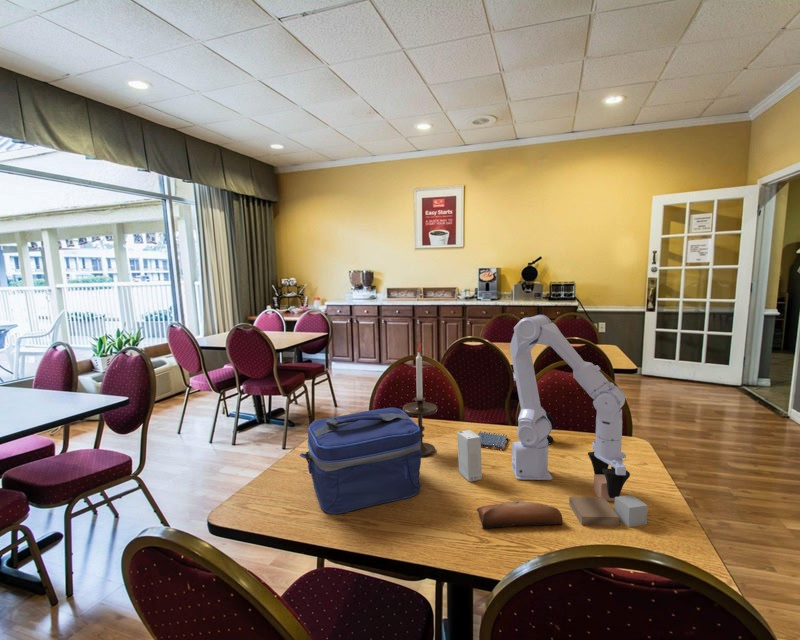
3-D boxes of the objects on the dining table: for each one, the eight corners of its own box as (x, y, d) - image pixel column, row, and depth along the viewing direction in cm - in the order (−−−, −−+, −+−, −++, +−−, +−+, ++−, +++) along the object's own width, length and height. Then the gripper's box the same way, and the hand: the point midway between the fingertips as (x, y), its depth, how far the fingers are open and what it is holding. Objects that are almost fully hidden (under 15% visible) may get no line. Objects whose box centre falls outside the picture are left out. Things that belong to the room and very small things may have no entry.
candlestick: (442, 447, 132) (441, 340, 128) (429, 461, 123) (427, 346, 119) (412, 441, 137) (410, 339, 133) (397, 454, 128) (395, 344, 124)
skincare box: (482, 479, 111) (482, 436, 109) (468, 482, 109) (467, 439, 108) (471, 469, 117) (470, 428, 115) (457, 472, 115) (456, 431, 114)
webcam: (530, 444, 133) (530, 414, 132) (528, 435, 140) (528, 407, 139) (555, 446, 131) (555, 416, 130) (551, 437, 138) (552, 408, 137)
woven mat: (471, 448, 132) (471, 442, 132) (478, 436, 142) (478, 430, 142) (503, 452, 128) (504, 446, 128) (508, 440, 138) (508, 434, 138)
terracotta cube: (600, 500, 99) (601, 483, 99) (593, 491, 104) (594, 474, 103) (620, 501, 99) (620, 483, 99) (611, 491, 103) (612, 474, 103)
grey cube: (628, 527, 89) (629, 507, 88) (614, 515, 93) (614, 497, 93) (646, 524, 90) (647, 505, 89) (631, 513, 94) (632, 494, 94)
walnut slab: (581, 527, 90) (581, 516, 90) (569, 506, 98) (569, 496, 98) (619, 527, 89) (619, 517, 89) (603, 507, 97) (603, 497, 97)
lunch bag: (309, 524, 93) (305, 437, 90) (296, 482, 112) (292, 410, 110) (431, 493, 104) (430, 416, 102) (399, 460, 124) (398, 394, 122)
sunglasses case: (547, 504, 98) (554, 489, 94) (558, 534, 92) (565, 519, 88) (473, 508, 97) (476, 493, 93) (479, 538, 92) (483, 523, 88)
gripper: (640, 448, 92) (638, 505, 94) (612, 425, 107) (610, 475, 108) (608, 448, 93) (606, 504, 94) (584, 425, 107) (583, 474, 109)
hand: (606, 489), depth 101 cm, fingers open, 7 cm apart
